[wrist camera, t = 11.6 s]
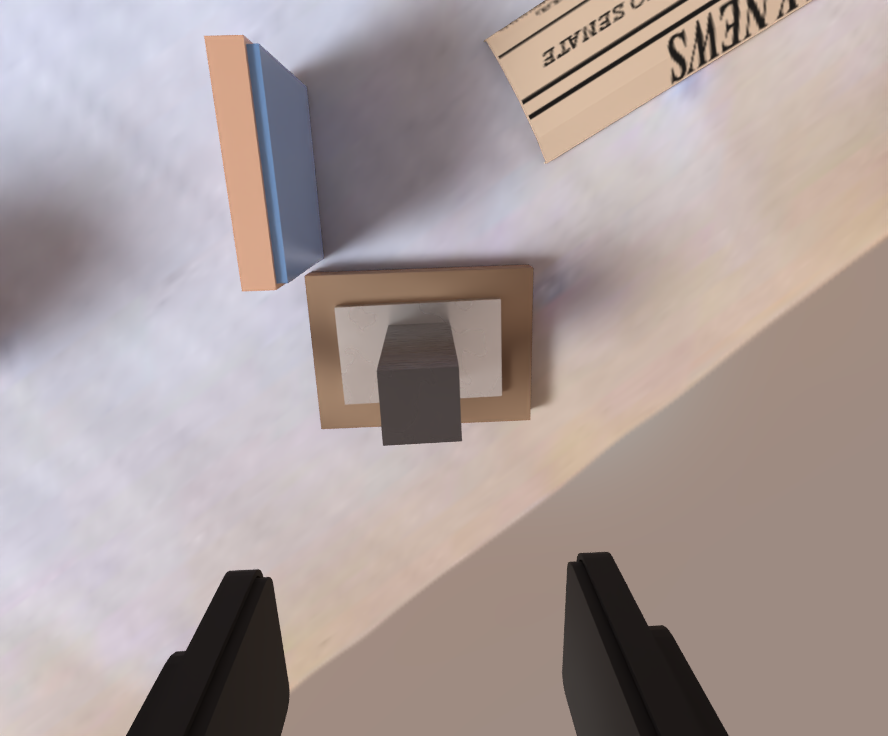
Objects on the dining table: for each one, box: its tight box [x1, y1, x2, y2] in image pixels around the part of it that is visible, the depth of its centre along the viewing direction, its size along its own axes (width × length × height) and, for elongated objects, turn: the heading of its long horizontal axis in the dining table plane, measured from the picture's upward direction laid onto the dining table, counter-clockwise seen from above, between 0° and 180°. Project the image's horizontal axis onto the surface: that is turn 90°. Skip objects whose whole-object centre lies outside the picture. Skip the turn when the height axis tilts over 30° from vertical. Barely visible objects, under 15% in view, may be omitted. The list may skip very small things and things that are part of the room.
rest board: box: [305, 265, 533, 429], centre depth 28 cm, size 8×11×1 cm
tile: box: [204, 35, 324, 291], centre depth 22 cm, size 8×2×8 cm, turn 2°
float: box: [334, 297, 502, 446], centre depth 24 cm, size 5×8×8 cm, turn 93°
